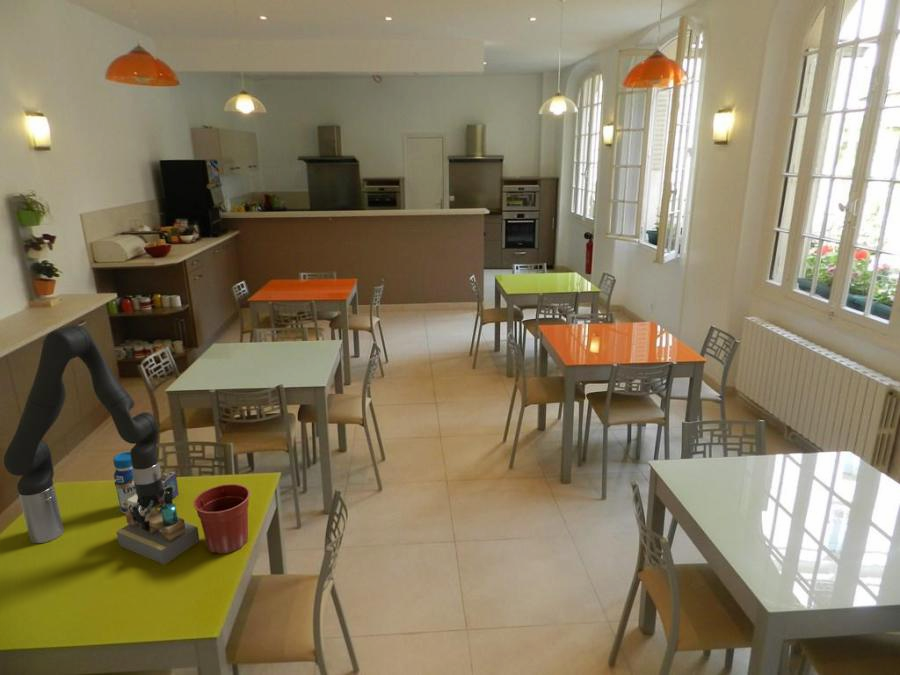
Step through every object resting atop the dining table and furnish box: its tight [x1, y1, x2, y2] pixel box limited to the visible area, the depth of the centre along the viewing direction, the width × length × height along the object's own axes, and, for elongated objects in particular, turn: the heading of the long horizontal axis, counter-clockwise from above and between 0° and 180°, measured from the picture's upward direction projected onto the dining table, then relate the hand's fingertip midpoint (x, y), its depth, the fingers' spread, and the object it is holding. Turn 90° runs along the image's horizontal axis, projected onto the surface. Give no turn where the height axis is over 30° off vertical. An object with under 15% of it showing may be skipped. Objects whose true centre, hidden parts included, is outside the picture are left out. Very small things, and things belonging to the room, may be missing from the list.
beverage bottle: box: [112, 451, 136, 514], centre depth 207 cm, size 8×8×20 cm
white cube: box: [127, 494, 141, 513], centre depth 190 cm, size 4×4×4 cm
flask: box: [161, 471, 180, 501], centre depth 213 cm, size 9×3×11 cm, turn 172°
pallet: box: [124, 507, 186, 540], centre depth 188 cm, size 20×6×4 cm, turn 63°
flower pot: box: [192, 483, 251, 555], centre depth 188 cm, size 16×16×16 cm
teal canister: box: [160, 502, 179, 526], centre depth 183 cm, size 4×4×5 cm
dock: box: [115, 521, 200, 565], centre depth 189 cm, size 21×13×5 cm, turn 63°
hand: (155, 524), depth 188 cm, fingers closed on pallet, 5 cm apart
